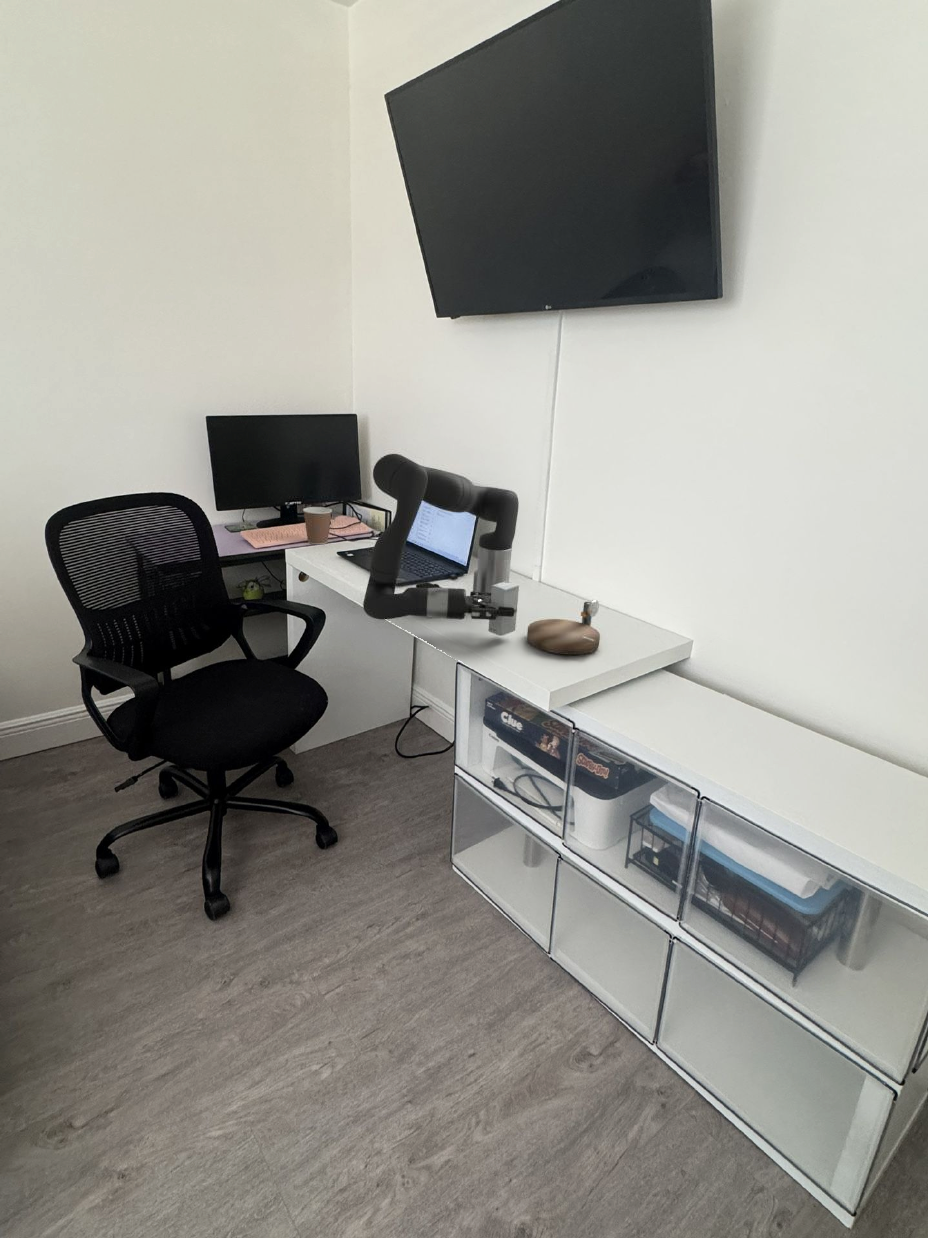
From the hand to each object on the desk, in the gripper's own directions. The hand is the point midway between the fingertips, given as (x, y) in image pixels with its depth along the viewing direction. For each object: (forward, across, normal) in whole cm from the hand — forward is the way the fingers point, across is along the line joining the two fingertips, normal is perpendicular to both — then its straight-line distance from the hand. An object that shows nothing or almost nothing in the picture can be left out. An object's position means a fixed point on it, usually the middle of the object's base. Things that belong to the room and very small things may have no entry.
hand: (512, 606), depth 173 cm
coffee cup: (-63, +89, +10) cm, 109 cm away
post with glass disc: (+21, +8, +9) cm, 24 cm away
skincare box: (-2, 0, +7) cm, 7 cm away
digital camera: (-19, +19, +9) cm, 29 cm away
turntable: (+13, 0, +9) cm, 16 cm away
